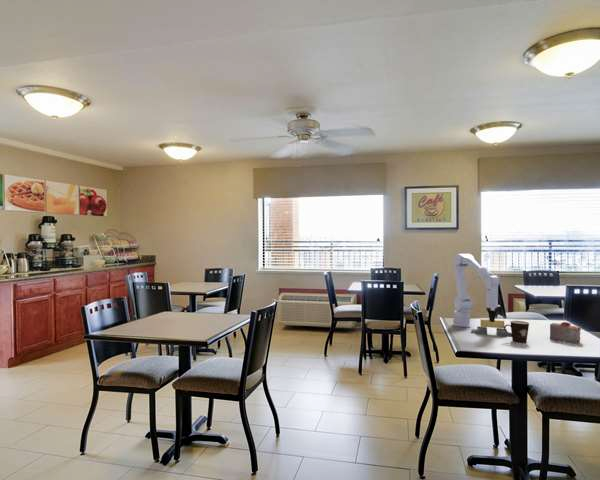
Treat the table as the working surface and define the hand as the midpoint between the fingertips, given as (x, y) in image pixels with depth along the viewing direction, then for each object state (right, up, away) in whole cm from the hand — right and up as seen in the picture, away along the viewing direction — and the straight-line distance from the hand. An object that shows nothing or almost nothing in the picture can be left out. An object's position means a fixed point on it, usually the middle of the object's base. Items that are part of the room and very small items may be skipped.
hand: (491, 321), depth 225 cm
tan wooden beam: (0, -3, 0) cm, 3 cm away
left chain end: (-6, -7, +3) cm, 10 cm away
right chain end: (+6, -7, -2) cm, 10 cm away
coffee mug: (+5, -7, -15) cm, 18 cm away
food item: (+32, -8, -13) cm, 36 cm away
